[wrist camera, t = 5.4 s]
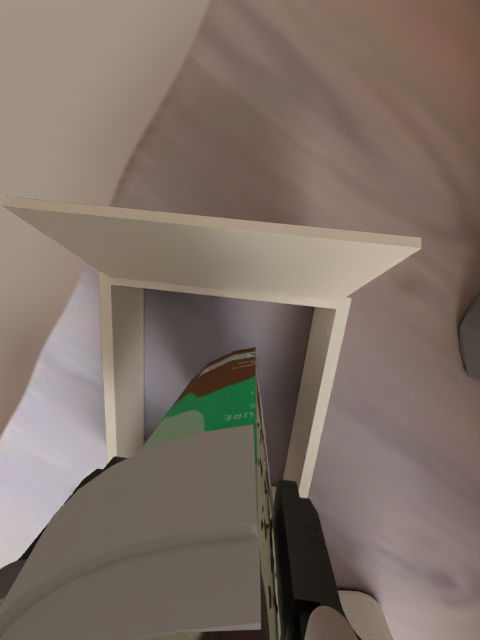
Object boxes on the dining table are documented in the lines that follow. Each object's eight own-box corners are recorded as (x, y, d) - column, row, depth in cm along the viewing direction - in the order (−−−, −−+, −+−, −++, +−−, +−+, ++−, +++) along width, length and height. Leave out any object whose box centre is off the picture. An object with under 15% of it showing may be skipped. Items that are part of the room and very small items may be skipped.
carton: (334, 253, 14) (449, 239, 6) (283, 514, 18) (307, 699, 11) (134, 233, 14) (-21, 192, 6) (136, 495, 19) (54, 660, 11)
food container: (138, 332, 12) (-317, 593, 2) (252, 319, 12) (253, 584, 2) (179, 512, 15) (43, 974, 5) (273, 508, 14) (319, 1009, 5)
